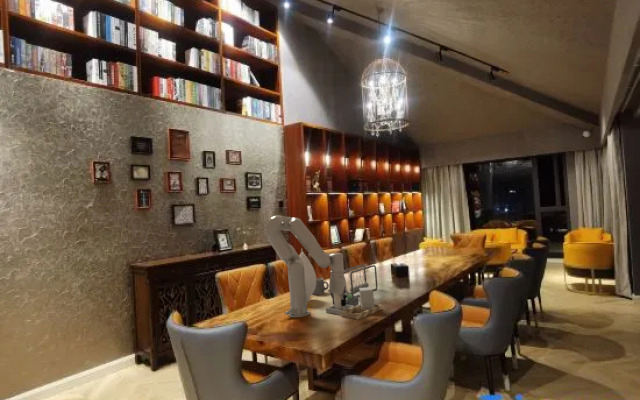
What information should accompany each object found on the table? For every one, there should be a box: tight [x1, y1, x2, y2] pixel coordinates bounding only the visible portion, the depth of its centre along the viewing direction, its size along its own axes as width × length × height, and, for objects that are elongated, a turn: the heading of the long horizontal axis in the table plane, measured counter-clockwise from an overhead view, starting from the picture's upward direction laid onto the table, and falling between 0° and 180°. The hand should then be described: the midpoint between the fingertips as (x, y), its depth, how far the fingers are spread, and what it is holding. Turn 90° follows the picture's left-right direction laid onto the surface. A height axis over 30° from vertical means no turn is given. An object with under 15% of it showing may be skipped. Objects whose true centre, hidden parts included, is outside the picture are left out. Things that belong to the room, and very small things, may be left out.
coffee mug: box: [311, 277, 329, 296], centre depth 288 cm, size 13×10×10 cm
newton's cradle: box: [344, 263, 378, 298], centre depth 278 cm, size 30×10×18 cm, turn 139°
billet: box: [334, 293, 345, 310], centre depth 236 cm, size 6×6×13 cm
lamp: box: [298, 250, 317, 302], centre depth 269 cm, size 16×16×35 cm
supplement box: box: [358, 286, 375, 309], centre depth 234 cm, size 7×7×13 cm
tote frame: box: [325, 304, 355, 316], centre depth 236 cm, size 12×12×2 cm
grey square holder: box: [346, 295, 360, 306], centre depth 247 cm, size 8×8×5 cm
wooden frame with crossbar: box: [340, 303, 383, 320], centre depth 230 cm, size 23×12×2 cm, turn 137°
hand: (339, 304), depth 236 cm, fingers closed on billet, 6 cm apart
